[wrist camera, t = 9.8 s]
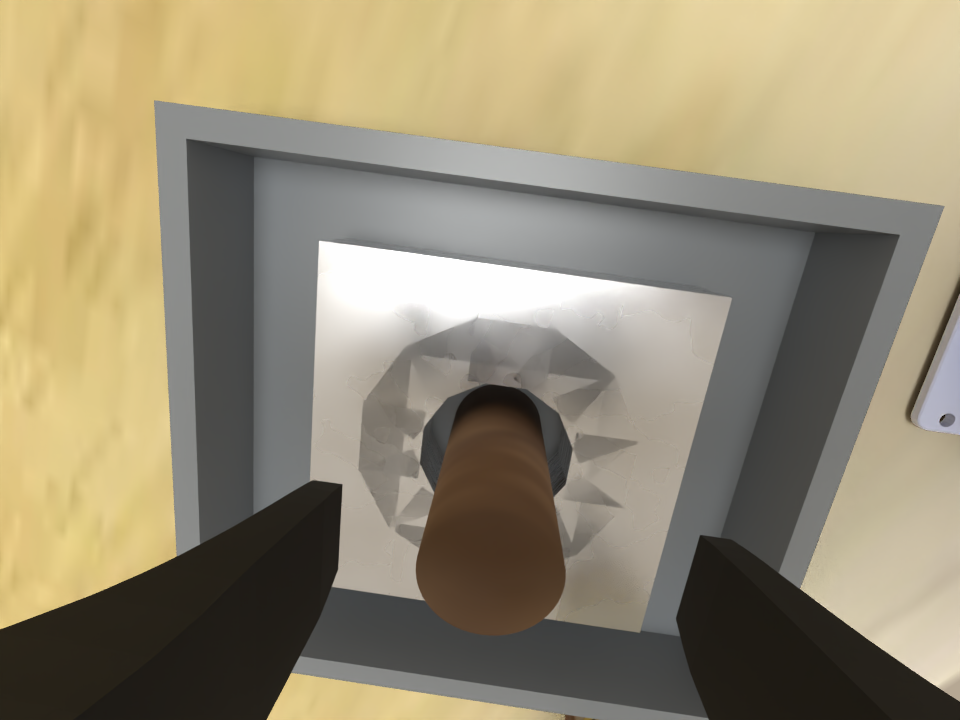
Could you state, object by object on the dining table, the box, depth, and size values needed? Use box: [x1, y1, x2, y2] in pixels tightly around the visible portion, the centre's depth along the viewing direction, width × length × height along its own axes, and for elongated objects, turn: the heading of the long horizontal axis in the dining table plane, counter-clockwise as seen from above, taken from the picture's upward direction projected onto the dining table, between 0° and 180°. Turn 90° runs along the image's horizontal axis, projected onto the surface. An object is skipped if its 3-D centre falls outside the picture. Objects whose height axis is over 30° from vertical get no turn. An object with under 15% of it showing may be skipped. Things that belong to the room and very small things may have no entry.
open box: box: [154, 101, 944, 720], centre depth 17 cm, size 20×18×4 cm
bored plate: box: [310, 238, 732, 633], centre depth 17 cm, size 12×12×2 cm
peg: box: [416, 384, 566, 636], centre depth 14 cm, size 3×3×8 cm
